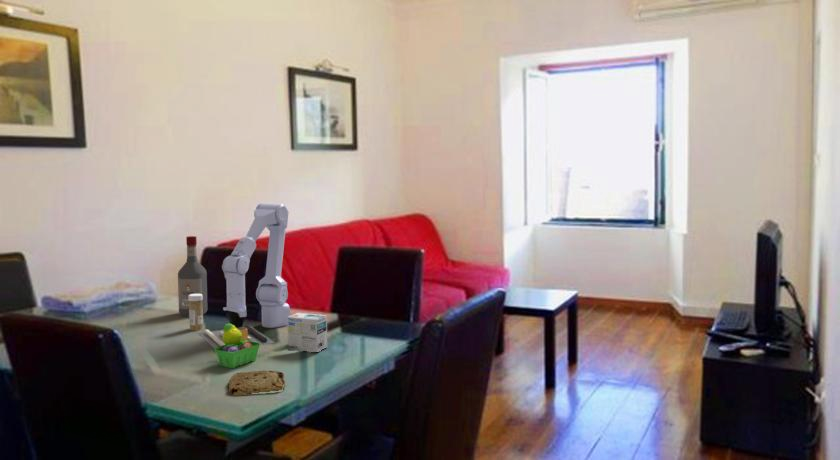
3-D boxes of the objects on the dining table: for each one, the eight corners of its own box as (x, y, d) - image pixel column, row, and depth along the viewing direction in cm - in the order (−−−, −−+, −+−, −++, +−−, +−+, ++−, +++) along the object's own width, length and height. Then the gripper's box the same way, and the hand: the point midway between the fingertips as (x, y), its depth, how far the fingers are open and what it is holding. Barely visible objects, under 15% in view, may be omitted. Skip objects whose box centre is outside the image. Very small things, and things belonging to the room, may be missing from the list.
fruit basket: (231, 370, 174) (230, 331, 173) (210, 365, 179) (209, 326, 178) (261, 360, 184) (261, 322, 183) (241, 355, 189) (240, 318, 188)
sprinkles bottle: (205, 333, 212) (204, 294, 211) (191, 335, 210) (190, 296, 208) (201, 330, 216) (200, 292, 215) (187, 332, 214) (186, 294, 212)
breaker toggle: (244, 339, 200) (244, 326, 200) (247, 341, 198) (247, 328, 197) (232, 341, 198) (232, 327, 198) (235, 343, 196) (234, 329, 195)
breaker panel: (251, 330, 217) (250, 323, 217) (275, 347, 197) (275, 339, 197) (197, 337, 207) (197, 330, 207) (217, 356, 187) (217, 347, 187)
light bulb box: (327, 348, 197) (327, 314, 196) (317, 353, 191) (317, 319, 190) (298, 344, 201) (297, 311, 200) (287, 350, 194) (286, 316, 193)
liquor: (200, 316, 237) (198, 238, 234) (176, 316, 237) (174, 237, 234) (209, 311, 246) (207, 235, 243) (186, 310, 246) (184, 235, 243)
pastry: (208, 390, 160) (208, 379, 160) (259, 372, 175) (259, 361, 174) (256, 404, 151) (256, 392, 150) (305, 383, 165) (305, 372, 165)
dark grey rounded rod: (247, 327, 215) (247, 323, 215) (267, 341, 198) (267, 337, 198) (243, 328, 214) (242, 324, 214) (263, 342, 197) (263, 338, 197)
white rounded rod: (208, 332, 208) (208, 328, 208) (226, 347, 191) (226, 343, 190) (204, 333, 207) (204, 329, 207) (221, 348, 190) (221, 344, 190)
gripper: (217, 290, 203) (218, 331, 205) (230, 298, 191) (231, 341, 193) (238, 288, 207) (239, 328, 209) (252, 296, 195) (253, 338, 196)
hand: (236, 334), depth 201 cm, fingers closed
